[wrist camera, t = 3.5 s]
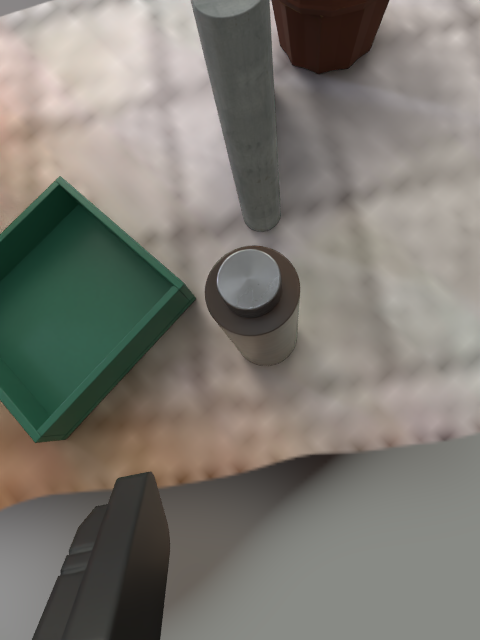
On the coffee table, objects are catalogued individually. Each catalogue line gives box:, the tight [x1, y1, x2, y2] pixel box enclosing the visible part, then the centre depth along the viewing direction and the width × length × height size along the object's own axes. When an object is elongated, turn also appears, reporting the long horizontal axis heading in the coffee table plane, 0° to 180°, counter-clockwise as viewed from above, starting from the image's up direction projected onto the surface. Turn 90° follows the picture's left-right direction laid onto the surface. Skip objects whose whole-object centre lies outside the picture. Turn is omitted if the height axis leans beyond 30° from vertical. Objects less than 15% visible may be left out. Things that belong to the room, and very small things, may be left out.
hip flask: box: [191, 0, 281, 231], centre depth 24 cm, size 16×4×20 cm, turn 2°
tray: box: [0, 176, 196, 443], centre depth 30 cm, size 15×15×4 cm
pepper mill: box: [205, 246, 300, 366], centre depth 23 cm, size 5×5×12 cm
